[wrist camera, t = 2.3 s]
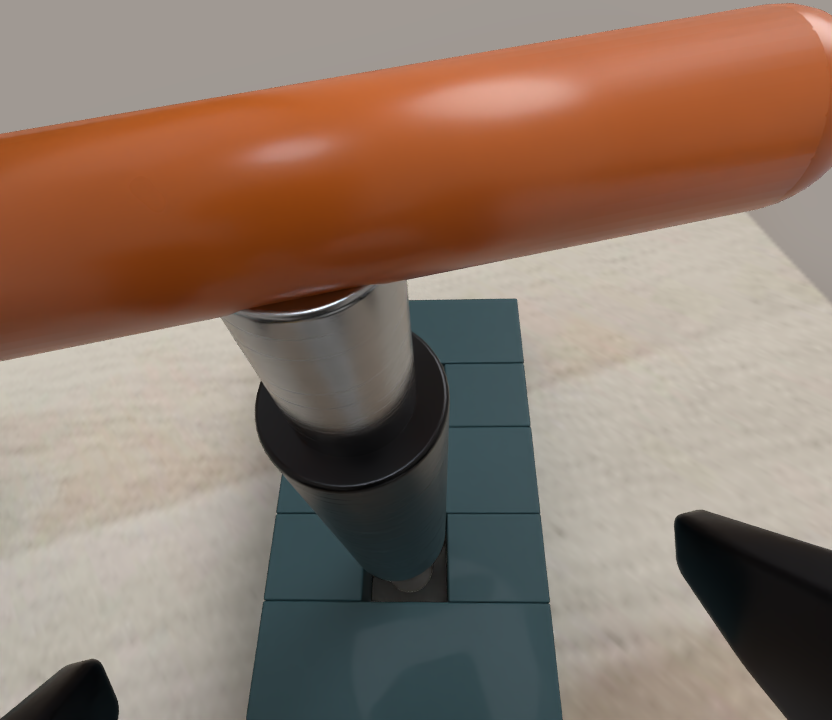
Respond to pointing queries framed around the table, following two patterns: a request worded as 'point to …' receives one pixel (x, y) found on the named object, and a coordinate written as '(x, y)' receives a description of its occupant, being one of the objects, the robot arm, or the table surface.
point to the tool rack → (466, 568)
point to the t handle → (394, 223)
